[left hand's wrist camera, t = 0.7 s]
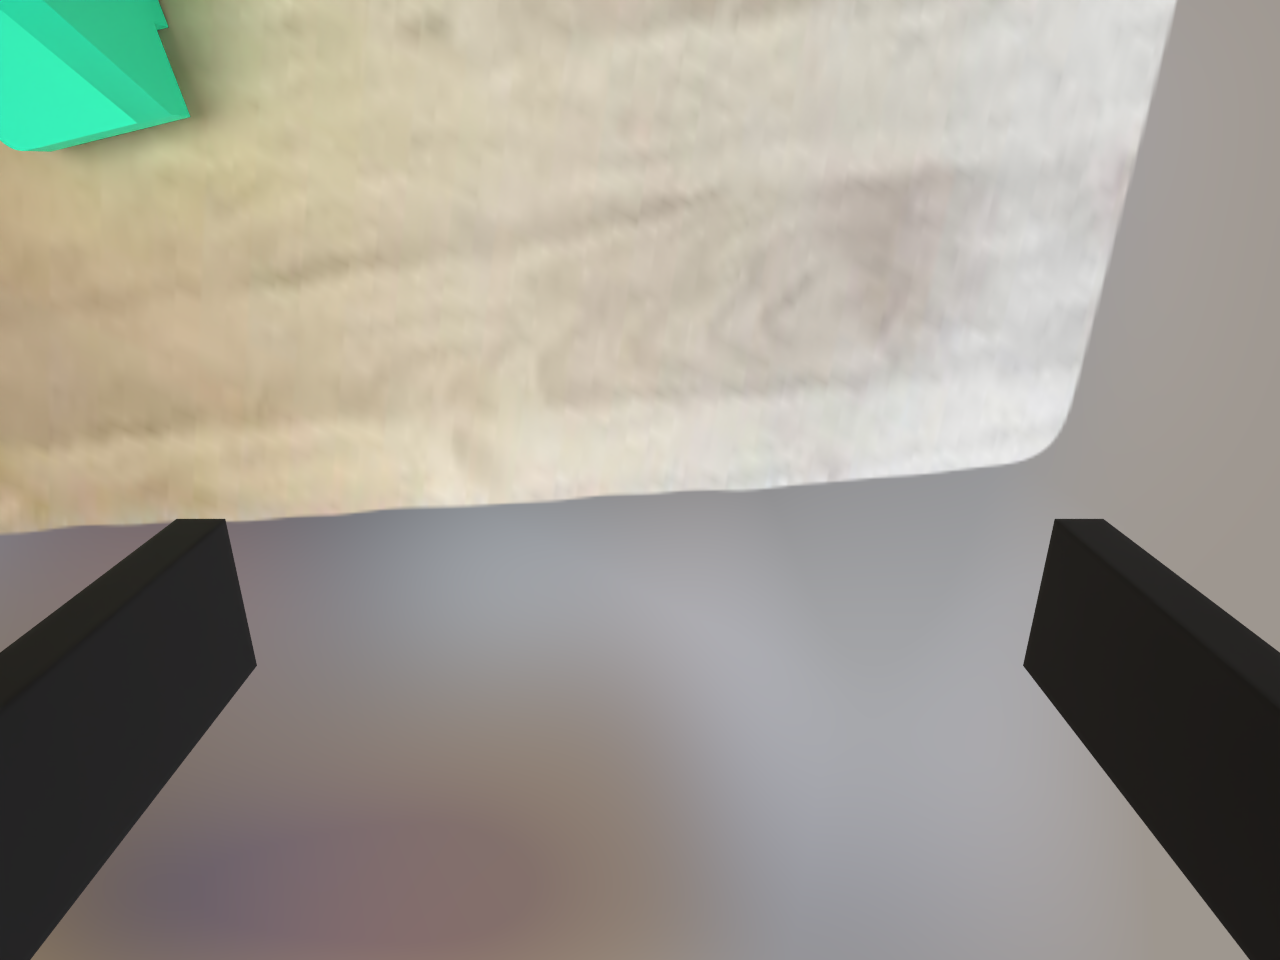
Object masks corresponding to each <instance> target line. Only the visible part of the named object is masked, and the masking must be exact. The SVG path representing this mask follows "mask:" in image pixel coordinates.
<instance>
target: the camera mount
mask: <svg viewBox="0 0 1280 960" xmlns="http://www.w3.org/2000/svg"><path fill="white" fill-rule="evenodd" d="M164 28H168V25H167V22H166V19H165V17H164V14H163V12H162V9H161V6H160V4H159V1H158V0H0V140H1V141H2V142H3V143H4V144H5V145H7V146H9V147H10V148H13V149H15V150H20V151H55V150H59V149H63V148H67V147H71V146H75V145H79V144H83V143H87V142H91V141H96V140H100V139H104V138H108V137H112V136H116V135H120V134H124V133H128V132H132V131H136V130H140V129H144V128H148V127H152V126H156V125H160V124H164V123H168V122H172V121H176V120H180V119H184V118H189V117H190V114H189V112H188V109H187V107H186V104H185V101H184V99H183V96H182V94H181V91H180V89H179V86H178V83H177V81H176V78H175V76H174V73H173V71H172V68H171V65H170V63H169V60H168V58H167V55H166V52H165V50H164V47H163V45H162V42H161V40H160V37H159V34H158V32H157V30H160V29H164Z"/></svg>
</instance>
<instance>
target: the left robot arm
mask: <svg viewBox="0 0 1280 960" xmlns="http://www.w3.org/2000/svg"><path fill="white" fill-rule="evenodd" d="M256 666H257V664H256V660H255V655H254V651H253V646H252V641H251V637H250V632H249V627H248V623H247V618H246V613H245V609H244V604H243V600H242V595H241V590H240V586H239V581H238V576H237V572H236V567H235V563H234V558H233V553H232V549H231V544H230V539H229V535H228V530H227V525H226V521H225V519H176V520H175V521H173V522H172V523H171V524H170V525H168V526H167V527H165V528H164V529H163V530H162V531H160V532H159V533H158V534H156V535H155V536H154V537H152V538H151V539H150V540H148V541H147V542H146V543H144V544H143V545H142V546H140V547H139V548H138V549H136V550H135V551H134V552H133V553H131V554H130V555H129V556H127V557H126V558H125V559H123V560H122V561H121V562H119V563H118V564H117V565H115V566H114V567H113V568H111V569H110V570H109V571H107V572H106V573H105V574H103V575H102V576H101V577H100V578H98V579H97V580H96V581H94V582H93V583H92V584H90V585H89V586H88V587H86V588H85V589H84V590H82V591H81V592H80V593H78V594H77V595H76V596H74V597H73V598H72V599H71V600H69V601H68V602H67V603H65V604H64V605H63V606H61V607H60V608H59V609H57V610H56V611H55V612H53V613H52V614H51V615H49V616H48V617H47V618H45V619H44V620H43V621H41V622H40V623H39V624H37V625H36V626H35V627H33V628H32V629H31V630H30V631H28V632H27V633H26V634H24V635H23V636H22V637H20V638H19V639H18V640H16V641H15V642H14V643H12V644H11V645H10V646H9V647H7V648H6V649H4V650H3V651H2V652H1V653H0V960H30V959H31V958H32V957H33V955H34V954H35V953H36V952H37V950H38V949H39V948H40V946H41V945H42V944H43V942H44V941H45V940H46V939H47V937H48V936H49V935H50V933H51V932H52V931H53V929H54V928H55V927H56V926H57V924H58V923H59V922H60V920H61V919H62V918H63V917H64V915H65V914H66V913H67V911H68V910H69V909H70V907H71V906H72V905H73V904H74V902H75V901H76V900H77V898H78V897H79V896H80V894H81V893H82V892H83V891H84V889H85V888H86V887H87V885H88V884H89V883H90V881H91V880H92V879H93V878H94V876H95V875H96V874H97V872H98V871H99V870H100V868H101V867H102V866H103V865H104V863H105V862H106V861H107V859H108V858H109V857H110V855H111V854H112V853H113V852H114V850H115V849H116V848H117V846H118V845H119V844H120V842H121V841H122V840H123V839H124V837H125V836H126V835H127V833H128V832H129V831H130V830H131V828H132V827H133V825H134V824H135V823H136V822H137V820H138V819H139V818H140V816H141V815H142V814H143V813H144V811H145V810H146V809H147V807H148V806H149V805H150V804H151V802H152V801H153V800H154V798H155V797H156V796H157V794H158V793H159V792H160V790H161V789H162V788H163V787H164V785H165V784H166V783H167V781H168V780H169V779H170V778H171V776H172V775H173V774H174V772H175V771H176V770H177V768H178V767H179V766H180V765H181V763H182V762H183V761H184V759H185V758H186V757H187V755H188V754H189V753H190V752H191V750H192V749H193V748H194V746H195V745H196V744H197V742H198V741H199V740H200V739H201V737H202V736H203V735H204V733H205V732H206V731H207V730H208V728H209V727H210V726H211V724H212V723H213V722H214V720H215V719H216V718H217V717H218V715H219V714H220V713H221V711H222V710H223V709H224V707H225V706H226V705H227V704H228V702H229V701H230V700H231V698H232V697H233V696H234V694H235V693H236V692H237V691H238V689H239V688H240V687H241V685H242V684H243V683H244V682H245V680H246V679H247V678H248V676H249V675H250V674H251V672H252V671H253V670H254V669H255V667H256ZM1023 666H1024V667H1025V669H1026V670H1027V671H1028V672H1029V674H1030V675H1031V676H1032V678H1033V679H1034V680H1035V682H1036V683H1037V684H1038V685H1039V687H1040V688H1041V689H1042V691H1043V692H1044V693H1045V694H1046V696H1047V697H1048V698H1049V700H1050V701H1051V702H1052V704H1053V705H1054V706H1055V707H1056V709H1057V710H1058V711H1059V713H1060V714H1061V715H1062V717H1063V718H1064V719H1065V720H1066V722H1067V723H1068V724H1069V726H1070V727H1071V728H1072V730H1073V731H1074V732H1075V733H1076V735H1077V736H1078V737H1079V739H1080V740H1081V741H1082V743H1083V744H1084V745H1085V746H1086V748H1087V749H1088V750H1089V752H1090V753H1091V754H1092V756H1093V757H1094V758H1095V759H1096V761H1097V762H1098V763H1099V765H1100V766H1101V767H1102V768H1103V770H1104V771H1105V772H1106V774H1107V775H1108V776H1109V777H1110V779H1111V780H1112V781H1113V783H1114V784H1115V785H1116V787H1117V788H1118V789H1119V791H1120V792H1121V793H1122V794H1123V796H1124V797H1125V798H1126V800H1127V801H1128V802H1129V804H1130V805H1131V806H1132V807H1133V809H1134V810H1135V811H1136V813H1137V814H1138V815H1139V817H1140V818H1141V819H1142V820H1143V822H1144V823H1145V824H1146V826H1147V827H1148V828H1149V830H1150V831H1151V832H1152V833H1153V835H1154V836H1155V837H1156V839H1157V840H1158V841H1159V842H1160V844H1161V845H1162V846H1163V848H1164V849H1165V850H1166V852H1167V853H1168V854H1169V855H1170V857H1171V858H1172V859H1173V861H1174V862H1175V863H1176V865H1177V866H1178V867H1179V868H1180V870H1181V871H1182V872H1183V874H1184V875H1185V876H1186V878H1187V879H1188V880H1189V881H1190V883H1191V884H1192V885H1193V887H1194V888H1195V889H1196V891H1197V892H1198V893H1199V894H1200V896H1201V897H1202V898H1203V900H1204V901H1205V902H1206V903H1207V905H1208V906H1209V907H1210V909H1211V910H1212V911H1213V913H1214V914H1215V915H1216V917H1217V918H1218V919H1219V920H1220V922H1221V923H1222V924H1223V926H1224V927H1225V928H1226V929H1227V931H1228V932H1229V933H1230V935H1231V936H1232V937H1233V939H1234V940H1235V941H1236V942H1237V944H1238V945H1239V946H1240V948H1241V949H1242V950H1243V952H1244V953H1245V954H1246V955H1247V957H1248V958H1249V959H1250V960H1280V653H1279V652H1278V651H1277V650H1276V649H1274V648H1273V647H1272V646H1270V645H1269V644H1268V643H1266V642H1265V641H1264V640H1262V639H1261V638H1260V637H1258V636H1257V635H1256V634H1254V633H1253V632H1252V631H1250V630H1249V629H1248V628H1246V627H1245V626H1244V625H1243V624H1241V623H1240V622H1239V621H1237V620H1236V619H1235V618H1233V617H1232V616H1231V615H1229V614H1228V613H1227V612H1225V611H1224V610H1223V609H1221V608H1220V607H1219V606H1217V605H1216V604H1215V603H1214V602H1212V601H1211V600H1210V599H1208V598H1207V597H1206V596H1204V595H1203V594H1202V593H1200V592H1199V591H1198V590H1196V589H1195V588H1194V587H1192V586H1191V585H1190V584H1188V583H1187V582H1186V581H1184V580H1183V579H1182V578H1180V577H1179V576H1178V575H1176V574H1175V573H1174V572H1173V571H1171V570H1170V569H1169V568H1167V567H1166V566H1165V565H1163V564H1162V563H1161V562H1159V561H1158V560H1157V559H1155V558H1154V557H1153V556H1151V555H1150V554H1149V553H1147V552H1146V551H1145V550H1144V549H1142V548H1141V547H1140V546H1138V545H1137V544H1136V543H1134V542H1133V541H1132V540H1130V539H1129V538H1128V537H1126V536H1125V535H1124V534H1122V533H1121V532H1120V531H1118V530H1117V529H1116V528H1115V527H1113V526H1112V525H1111V524H1109V523H1108V522H1107V521H1105V520H1104V519H1055V521H1054V526H1053V530H1052V535H1051V539H1050V544H1049V549H1048V553H1047V558H1046V562H1045V567H1044V572H1043V576H1042V581H1041V586H1040V590H1039V595H1038V600H1037V604H1036V609H1035V613H1034V618H1033V623H1032V627H1031V632H1030V636H1029V641H1028V646H1027V650H1026V655H1025V660H1024V664H1023Z"/></svg>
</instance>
